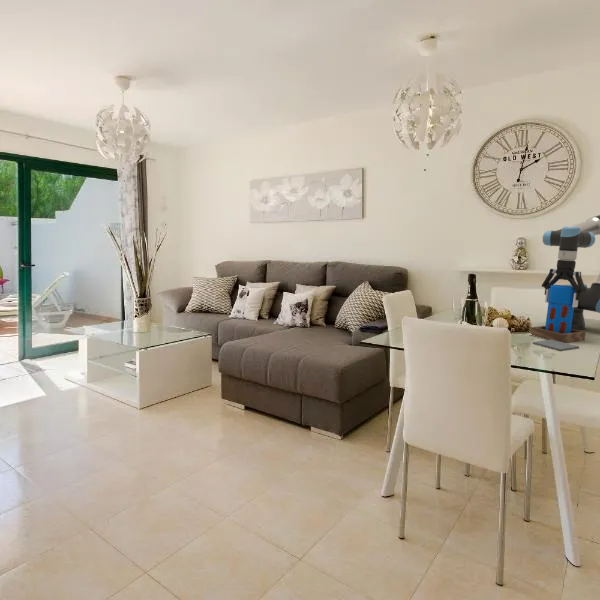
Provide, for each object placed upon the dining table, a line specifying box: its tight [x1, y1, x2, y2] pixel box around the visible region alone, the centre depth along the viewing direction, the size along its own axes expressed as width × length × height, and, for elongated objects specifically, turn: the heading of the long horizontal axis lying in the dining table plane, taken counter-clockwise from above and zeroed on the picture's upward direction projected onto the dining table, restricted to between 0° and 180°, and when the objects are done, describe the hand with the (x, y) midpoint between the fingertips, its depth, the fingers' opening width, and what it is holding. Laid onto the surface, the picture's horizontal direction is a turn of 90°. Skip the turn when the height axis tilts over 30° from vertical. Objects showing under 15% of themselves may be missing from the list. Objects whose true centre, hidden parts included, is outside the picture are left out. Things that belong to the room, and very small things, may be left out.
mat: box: [532, 339, 580, 352], centre depth 202 cm, size 13×13×1 cm
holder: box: [529, 325, 586, 344], centre depth 218 cm, size 16×16×4 cm
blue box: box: [544, 284, 576, 334], centre depth 216 cm, size 11×11×25 cm
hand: (560, 304), depth 216 cm, fingers open, 13 cm apart
